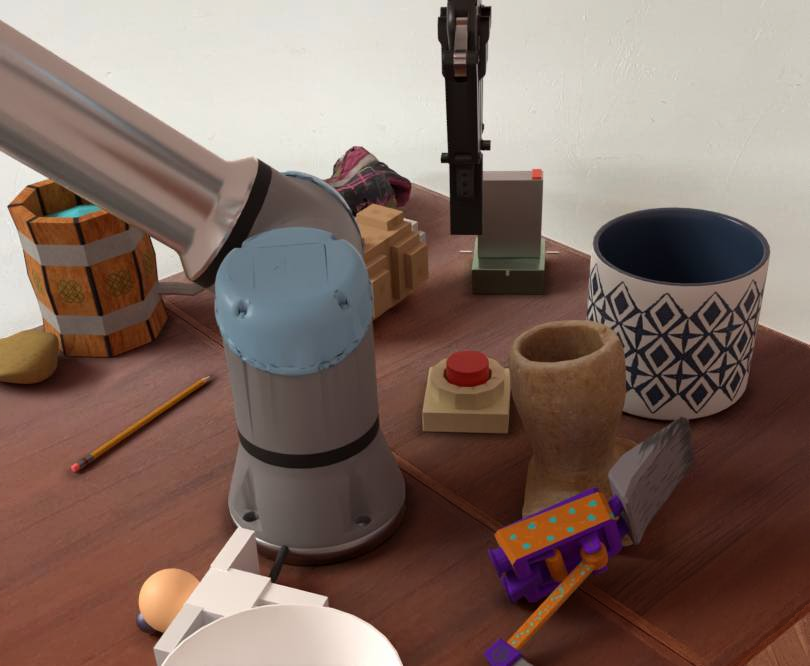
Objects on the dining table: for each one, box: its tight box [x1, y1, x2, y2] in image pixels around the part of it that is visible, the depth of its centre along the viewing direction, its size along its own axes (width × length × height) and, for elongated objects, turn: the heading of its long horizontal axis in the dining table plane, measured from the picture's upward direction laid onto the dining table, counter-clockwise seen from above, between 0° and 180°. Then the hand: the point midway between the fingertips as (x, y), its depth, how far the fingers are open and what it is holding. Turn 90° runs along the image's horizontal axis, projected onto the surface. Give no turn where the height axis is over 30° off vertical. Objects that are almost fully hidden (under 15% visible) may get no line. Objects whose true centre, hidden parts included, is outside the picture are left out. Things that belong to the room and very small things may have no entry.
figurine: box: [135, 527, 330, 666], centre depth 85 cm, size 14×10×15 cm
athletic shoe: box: [320, 145, 412, 218], centre depth 135 cm, size 11×22×12 cm
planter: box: [585, 206, 771, 421], centre depth 107 cm, size 16×16×14 cm
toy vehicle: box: [483, 417, 696, 666], centre depth 83 cm, size 9×21×15 cm
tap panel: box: [458, 236, 560, 295], centre depth 128 cm, size 11×11×3 cm
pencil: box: [70, 374, 213, 473], centre depth 109 cm, size 19×1×1 cm, turn 145°
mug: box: [6, 178, 206, 358], centre depth 120 cm, size 20×14×15 cm
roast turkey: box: [355, 204, 430, 321], centre depth 121 cm, size 10×18×10 cm, turn 145°
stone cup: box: [507, 319, 639, 548], centre depth 93 cm, size 15×12×15 cm
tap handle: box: [477, 168, 544, 258], centre depth 124 cm, size 7×2×9 cm, turn 85°
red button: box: [446, 350, 489, 387], centre depth 106 cm, size 4×4×2 cm
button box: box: [421, 356, 511, 434], centre depth 108 cm, size 8×8×4 cm
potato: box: [0, 329, 59, 385], centre depth 116 cm, size 7×8×8 cm
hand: (466, 230), depth 97 cm, fingers closed
